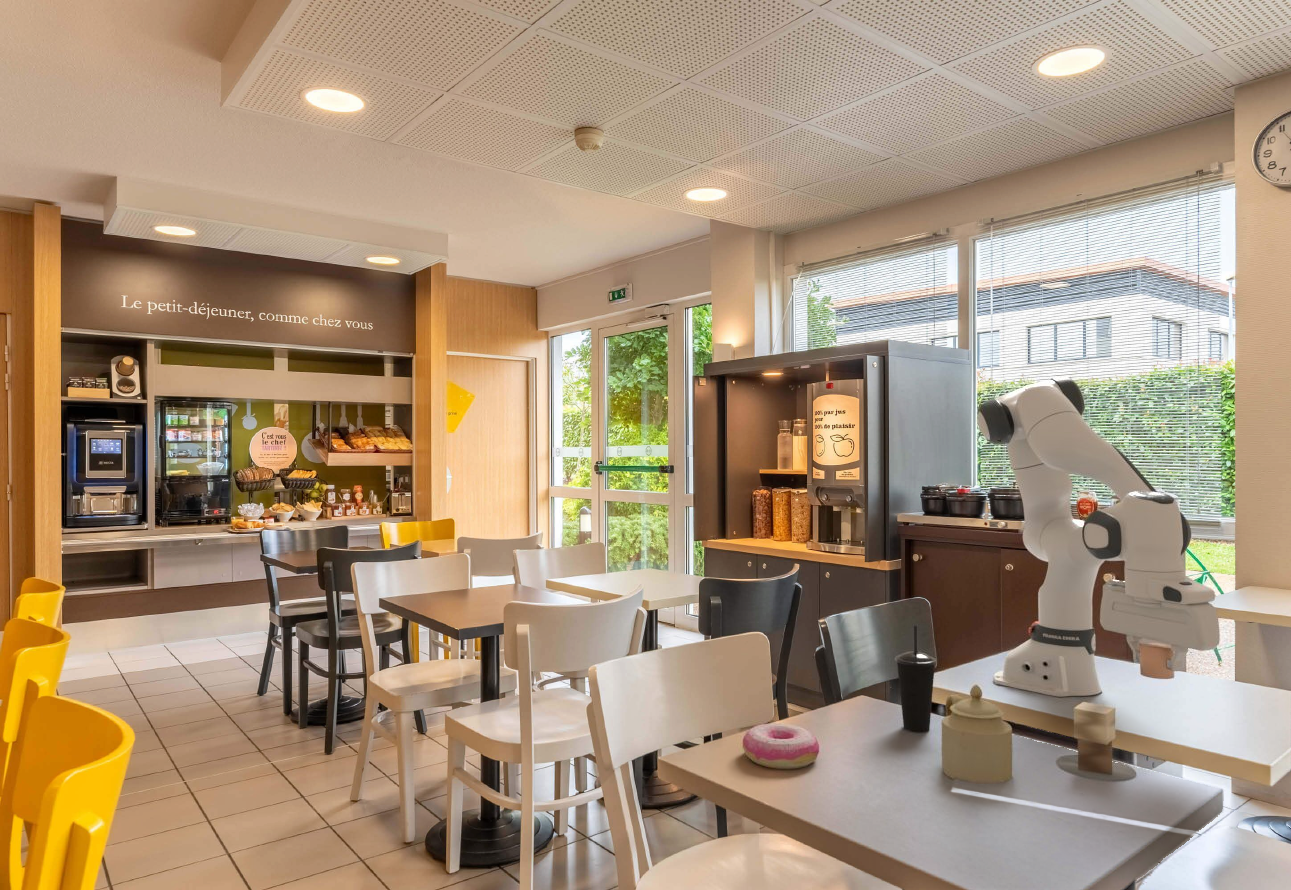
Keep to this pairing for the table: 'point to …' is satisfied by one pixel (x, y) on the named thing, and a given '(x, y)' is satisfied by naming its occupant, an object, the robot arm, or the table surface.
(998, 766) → the sugar bowl
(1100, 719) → the beech cube
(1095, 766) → the walnut cube
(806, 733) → the donut
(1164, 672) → the terracotta cylinder
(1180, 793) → the table surface
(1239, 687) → the table surface
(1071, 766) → the slate coaster
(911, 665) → the drinking cup
